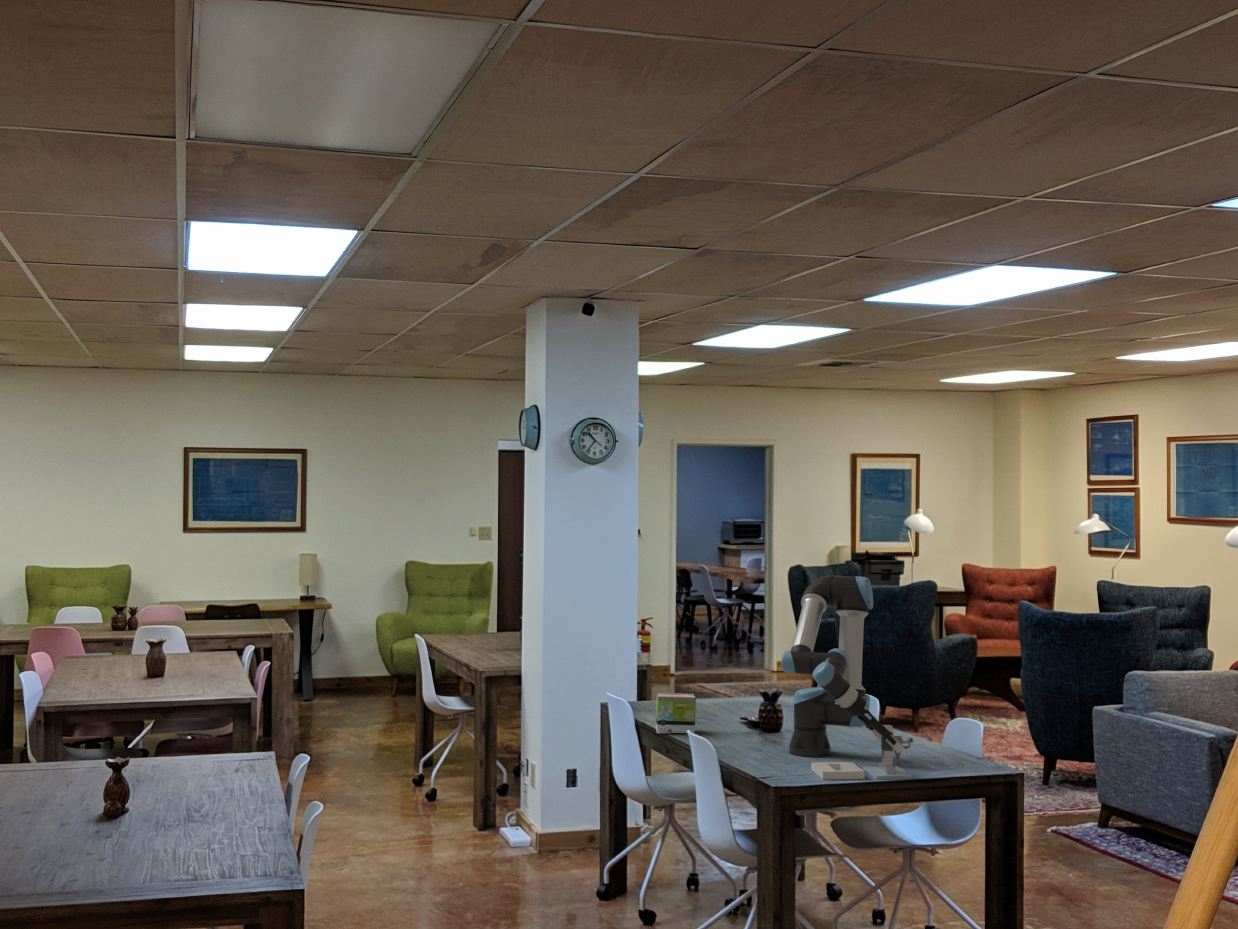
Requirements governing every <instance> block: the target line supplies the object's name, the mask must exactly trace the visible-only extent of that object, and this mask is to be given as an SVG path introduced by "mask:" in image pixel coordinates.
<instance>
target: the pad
mask: <svg viewBox="0 0 1238 929" xmlns="http://www.w3.org/2000/svg"><path fill="white" fill-rule="evenodd" d="M895 767H896V774H886V773H884V772H883V771H881V770H880V769H879V766H863V768H862V770H863V771H864V770H865V773H867V772H868V775H870V776H871V775H872V776H871V777H873V778H874V779H875V780H895V779H896V780H912V779H913V776H912V774H911V773H909V772H907V771H905V770H904V769H902V768H901V767H900V766H895Z"/></svg>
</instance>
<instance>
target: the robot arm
mask: <svg viewBox="0 0 1238 929" xmlns="http://www.w3.org/2000/svg"><path fill="white" fill-rule="evenodd" d="M873 594H874V593H873V588H872V584H871V580H870V579H869V577H866V576H857V575H824V576H821V577H819V578H817V579H815V580H814V581H813V582H811V583H810V584H809V586H808V587H807V588H806V589H805V590H804V592H803V594H802V597H801V601H800V605H801V611H800V615H799V618H798V622H797V625H796V626H797V627H796V628H795V629H796V630H795V634H794V638H793V641H792V645H791V648H790V650H785V651H783V652H782V654H781V661H780V663H781V664H780V665H781V669H782V671H783V672H784V673H787V674H797V675H812V676H811V677H812V679H813V680H814V681H815V682H816V684H817V685H818V687H817V686H816V687H806V688H802V689H798V690H796V691H795V693H794V695H793V696H794V697H793V732H792V735H791V739H790V741H789V745H788V753H789V754H791V755H794V756H798V757H799V756H800V757H808V758H809V757H812V758H814V757H815V758H818V757H819V756H821V757H826V756H830V755H832V747H831V743H830V741H829V736H828V734H827V726H835V727H847V728H863V727H865V728H866V729H868V730H869V731H870V732H871V733H872V734H873V735H874V736H875V737H876V738H877V739H878V740H879V741H880V742H881V736H883V737H884V738H883V740H884V741H885V740H886V741H887V742H888V743H889V744H890V746H891V747H892V748H893V751H894V750H895V751H896V752H897V753H898V754H899V753H900V752H901V753H902V751H903V750H904V747H903V746H904V745H903V744H902V745H901V744H900V743H899V742H898V741H897V740H896V739H895V738H894V736H895V735H894V734H893V735H892V734H891V732H890V731H888V730H887V729H886V728H885V727H884V726H883V725H884V724H882V723H881V722H880V721H879V720H878V719H877V717H875V716H874V715H873V714H872V712H871V711H870V706H871V705H870V704H871V702H870V701H871V697H870V695H869V694H866V688H865V687H864V686H863V684H862V681H863V680H862V678H863V677H862V676H863V653H864V652H863V649H864V630H865V629H864V623H865V618H866V617H867V616H868V615H869V610H872V609H873V608H874V595H873ZM827 608H836V609H835V612H836V614H837V615H838V616H839V634H838V635H839V638H838V648H832V649H830V650H828V652H827V653H826V652H814V649H815V644H816V640H817V637H818V633H819V630H820V624H821V620H822V616H823V613H825V612H826V611H827ZM886 732H887V733H886ZM885 733H886V734H885ZM901 753H900V754H901Z"/></svg>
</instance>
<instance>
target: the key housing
mask: <svg viewBox="0 0 1238 929" xmlns="http://www.w3.org/2000/svg"><path fill="white" fill-rule="evenodd" d="M810 765H811V768H810V769H811V771H812V772H813V771H814V772H815V773H814V772H813V773H814V774H816V775H817V776H818V775H819V776H820V777H821V778H820V777H819V776H818V777H819V778H820V779H821V780H865V777H866V776H865V775H866V774H865V773H866V771H864V770H863V768H860V766H857V765H856V764H855V763H853V762H851V761H850V762H845V761H844V762H841V761H840V762H836V761H835V762H831V761H830V762H825V761H824V762H823V761H821V762H811V764H810Z"/></svg>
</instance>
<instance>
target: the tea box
mask: <svg viewBox="0 0 1238 929" xmlns="http://www.w3.org/2000/svg"><path fill="white" fill-rule="evenodd" d="M655 699H656V700H655V730H656V734H671V733H682V732H684V733H686V731H687V730H690V731H693V732H695V731H696V710H697V708H696V707H697V706H696V704H697V702H696V700H697V699H696V696H695V694H694V693H681V692H680V693H678V692H677V693H676V692H673V693H672V692H656V698H655Z"/></svg>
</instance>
